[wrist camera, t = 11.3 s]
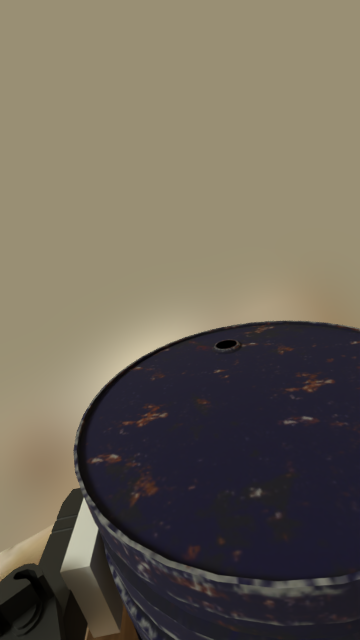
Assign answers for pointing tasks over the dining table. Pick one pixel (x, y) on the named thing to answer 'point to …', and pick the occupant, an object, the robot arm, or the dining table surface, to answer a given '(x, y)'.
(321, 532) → the dark blue cylinder
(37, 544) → the dining table surface
